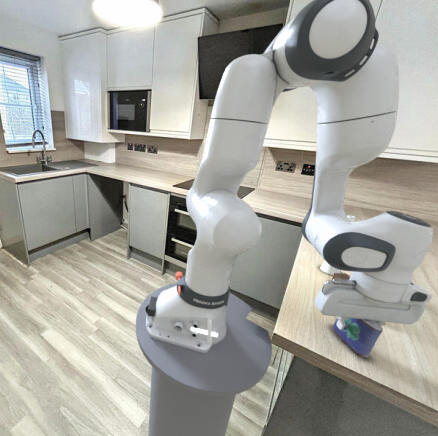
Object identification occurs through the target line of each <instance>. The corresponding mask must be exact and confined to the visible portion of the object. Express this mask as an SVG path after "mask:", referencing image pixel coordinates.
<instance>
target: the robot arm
mask: <svg viewBox="0 0 438 436" xmlns="http://www.w3.org/2000/svg"><path fill="white" fill-rule="evenodd" d="M379 37H380V34H379V30H378V29H377V28H376V15H375V11H374V7H373V5H372V3H371V1H370V0H312V1H310V2H309V3H308V4H306V5H305V6H304V7H302V9H301V10H300V11H299V12H298V13H297V14H296V16H294V17H293V18H292V19H291V20H289V21H288V22H287V23H286V24H285V25H283V27H282V28H281V29H280V30H279V32H278V33H277V35H276V36H275V37H274V39H272V41H271V42H270V43H269V44H268V46H267V47H266V48H265V50H264V51H263V53H261V54H258V53H257V54H256V53H251V54H244V55H241V56H238V57H237V58H235V59H233V60H232V61H231V62H230V63H229V64H228V65H227V66H226V67H225V70H224V72H223V74H222V77H221V80H220V81H219V84H218V88H217V91H216V94H215V98H214V102H213V106H212V110H211V113H210V119H209V124H208V129H207V133H206V139H205V143H204V144H205V145H204V148H203V154H202V158H201V161H200V164H199V167H198V170H197V173H196V175H195V178H194V180H193V182H192V184H191V185H192V186H191V187H190V189H189V190H188V191H187V193H186V197H185V203H186V209H187V213H188V215H189V216H190V218H191V220H192V221H193V222H194V224H195V228H196V239H195V242H194V245H193V247H192V248H191V249H190V250H189V251H188V253H187V260H186V268H185V274H183V272H182V271H176V272H175V280H176V283H177V286H174V287H172V288H169V289H167V290H164V291H162V292H161V293H160V295H159V297H151V298H150V302H149V304H148V305H147V306H146V308H145V310H146V313H147V316H146V329H147V332H148V334H149V336H150V337H152V338H155V339H158V340H161V341H164V342H168V343H171V344H175V345H178V346H181V347H185V348H188V349H191V350H195V351H198V352H201V353H207V352H208V351H209V350H210V349H211V347H212V346H213V345H215V344H217V343H219V342H220V341H222V340H223V339H224V337H225V336H226V333H227V326H226V318H225V312H226V306H227V303H228V301H229V296H230V293H231V286H230V283H231V278H232V273H233V270H234V266H235V262H236V260H237V258H238V257H239V255H242V254H244V253H246V252H248V251H250V250H251V249H252V248H254V247H255V246H256V244H257V243H258V241H259V240H260V238H261V235H262V230H263V227H262V222H261V219H260V218H259V217H258V215H257V213H256V212H255V210H254V209H253V208H252V207H251V205H250V204H249V203H248V202H246V201H245V200H244V199H242V198H240V197H239V196H238V191H239V189H240V187H241V185H242V183H243V181H244V179H245V178H246V177H247V175H248V174H249V173H250V172H252V171H253V170H254V169H255V168H256V167H257V165H258V163H259V160H260V157H261V153H262V150H263V146H264V142H265V139H266V135H267V131H268V128H269V125H270V121H271V118H272V113H273V108H274V106H275V104H276V102H277V100H278V98H279V97H280V95H281V94H282V93H286V92H290V91H293V90H296V89H298V88H305V87H309V89H310V90H311V91H312V92H313V93H314V96H315V99H316V103H317V112H316V113H317V114H316V132H315V133H316V137H315V138H316V139H315V143H316V144H315V150H316V151H315V152H316V153H315V166H314V172H313V182H312V190H311V191H312V192H311V199H310V206H309V208H308V211H307V213H306V215H305V217H304V218H303V220H302V223H301V228H300V229H301V233H302V236H303V237H304V239H305V240H306V241H307V242H308V243H309V244H310V245H311V246H312V247H313V248H314V249H315V250H316V252H317V253H318V254H319V255H320V257H321V258H322V260H324V261H326V262H327V263H328V264H329V265H330V266H332V267H334V268H336V269H339V270H341V271H344V272H351V275H350V279H349V280H340V279H332V278H331V280H328V281H325V282H324V283H323V284H322V287H321V288H320V290H319V291H318V293H317V295H316V297H315V299H314V300H313V301H314V302H313V303H314V306H315V307H316V308H317V310H318V311H319V312H320V313H321V315H323V316H330V317H336V319H337V318H338V321H337V324H336V325H337V327H338V328H339V329H340V330H348V329H347V328H349V325H348V324H347V323H346V321H345V320H347V319H348V318H355V319H365V320H373V321H374V322H376V323H377V324H378V325H380V326H381V327H382V326H384V325H385V324H386V323H393V324H402V325H412V324H415V323H417V322H418V321H419V320H420V318H421V317H422V315H423V314H424V312H425V311H426V307H427V303H429V302H431V300H432V299H433V295H432V294H431V293H430V292H429V291H427V290H426V289H424V288H423V287H422V286H420V285H419V284H417V283H416V282H414V281H413V274H414V272H415V270H416V269H417V268H419V267H420V266H421V265H422V263H423V261H424V260H425V258H426V256H427V254H428V252H429V250H430V248H431V245H432V242H433V238H434V228H433V226H432V225H431V224H429V223H428V222H427V221H424V220H423V219H420V218H418V217H416V216H413V215H410V214H407V213H405V212H401V211H396V210H385V211H383V212H381V213H380V214H378V215H376V216H372V217H370V218H368V219H364V220H363V219H362V220H357V221H355V222H352V221H351V220H350V219H349V218H348V217H347V214H346V212H345V209H344V202H345V196H346V191H347V187H348V186H347V185H348V179H349V178H350V175H351V173H352V172H353V171H354V170H355V169H357V168H359V167H360V166H364V165H366V164H368V163H370V162H372V161H373V160H375V159H377V158H378V157H379V156H381V155H382V154H383V153H384V152H385V151H386V150H387V149H388V148H389V147H390V143H391V141H392V138H393V136H394V133H395V129H396V125H397V120H398V119H397V117H398V109H399V101H400V73H399V72H400V70H399V61H398V54H397V52H396V50H395V49H394V48H393V46H390V45H388V44H383V43H378V41H379ZM150 327H151V328H150ZM199 346H200V347H199Z"/></svg>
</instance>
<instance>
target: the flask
mask: <svg viewBox="0 0 438 436" xmlns="http://www.w3.org/2000/svg"><path fill="white" fill-rule="evenodd" d="M337 321H338V318H337V317H336V319H335V321H334V324H333V326H332V329H331V330H332V332H333V333H334V334H335V335H336V336H337V337H338V339H339V340H340V341H341V342H343V343H344V345H345V346H347V347H348V348H349V349H350V350H351V351H352V352H353V353H354V354H356V355H357V356H358V357H360V358H362V359H367V358H369V356H370V355H371V353H372V350H373V348H374V347H375V345H376V343H377V341H378V339H379V338H380V336H381V334H382V333H383V330H384V328H383V327H382V326H380V325H378V324H377V323H376V322H374V321H373V320H365V319H355V318H348V319H347V320H345V321H346V323H347V324H348V325H349V328H347V329H348V330H340V329H339V328H338V327H337V325H336V324H337Z"/></svg>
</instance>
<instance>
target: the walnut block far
mask: <svg viewBox="0 0 438 436" xmlns="http://www.w3.org/2000/svg"><path fill="white" fill-rule="evenodd" d="M350 277H351V275H349V274H347V273H343V272H340V273H334V275H332V278H331V280H332V279H340V280H349V279H350Z"/></svg>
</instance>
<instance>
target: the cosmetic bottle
mask: <svg viewBox="0 0 438 436" xmlns="http://www.w3.org/2000/svg"><path fill="white" fill-rule="evenodd" d="M346 215H347V214H346ZM347 217H348V218H349V219H350V220H351V221H352V222H356V220H355V219H356V217H355V216H354V215H347ZM320 270H321V271H322V272H323V273H325V274H327V275H330V276H333V275H334V273H342V270H339V269H336V268H334V267H332V266H330V265H329V264H328V263H327V262H326V261H325V260H324V261H323V263H322V264H321V266H320Z"/></svg>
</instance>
